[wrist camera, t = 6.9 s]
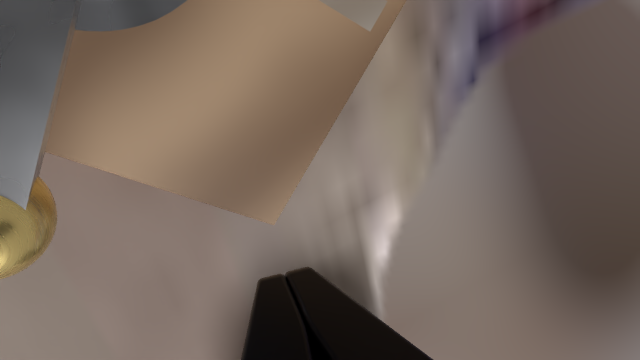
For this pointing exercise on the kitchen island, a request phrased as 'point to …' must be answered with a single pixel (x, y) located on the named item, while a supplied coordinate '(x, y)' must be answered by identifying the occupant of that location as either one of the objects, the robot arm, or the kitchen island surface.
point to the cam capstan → (42, 106)
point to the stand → (217, 95)
